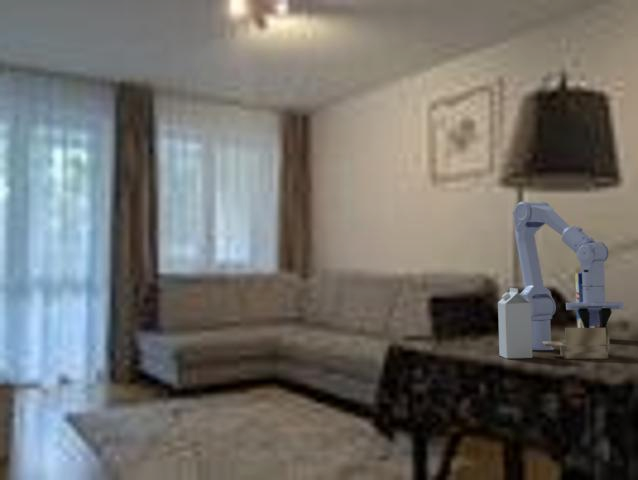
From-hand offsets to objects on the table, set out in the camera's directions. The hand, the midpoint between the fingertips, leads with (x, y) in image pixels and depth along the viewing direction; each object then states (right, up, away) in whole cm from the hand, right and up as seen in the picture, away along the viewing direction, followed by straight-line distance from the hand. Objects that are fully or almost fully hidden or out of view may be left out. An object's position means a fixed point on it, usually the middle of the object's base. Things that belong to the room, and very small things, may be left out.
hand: (595, 336), depth 193 cm
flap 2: (+2, +1, -1) cm, 2 cm away
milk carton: (-21, -6, +2) cm, 22 cm away
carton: (-5, -6, +3) cm, 8 cm away
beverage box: (+14, -7, +39) cm, 42 cm away
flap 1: (-4, +1, -4) cm, 6 cm away
